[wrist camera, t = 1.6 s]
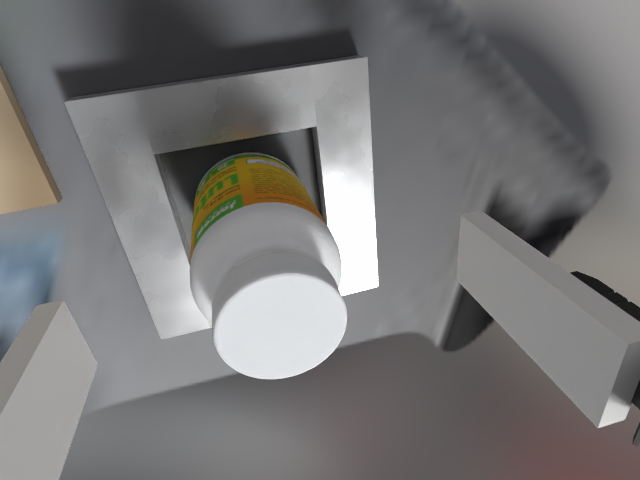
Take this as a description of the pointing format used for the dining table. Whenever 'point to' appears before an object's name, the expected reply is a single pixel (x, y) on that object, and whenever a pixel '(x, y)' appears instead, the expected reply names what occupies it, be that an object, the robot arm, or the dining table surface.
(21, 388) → the robot arm
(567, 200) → the dining table surface
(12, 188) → the oak pad
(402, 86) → the dining table surface
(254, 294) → the supplement bottle
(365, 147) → the grey square frame
